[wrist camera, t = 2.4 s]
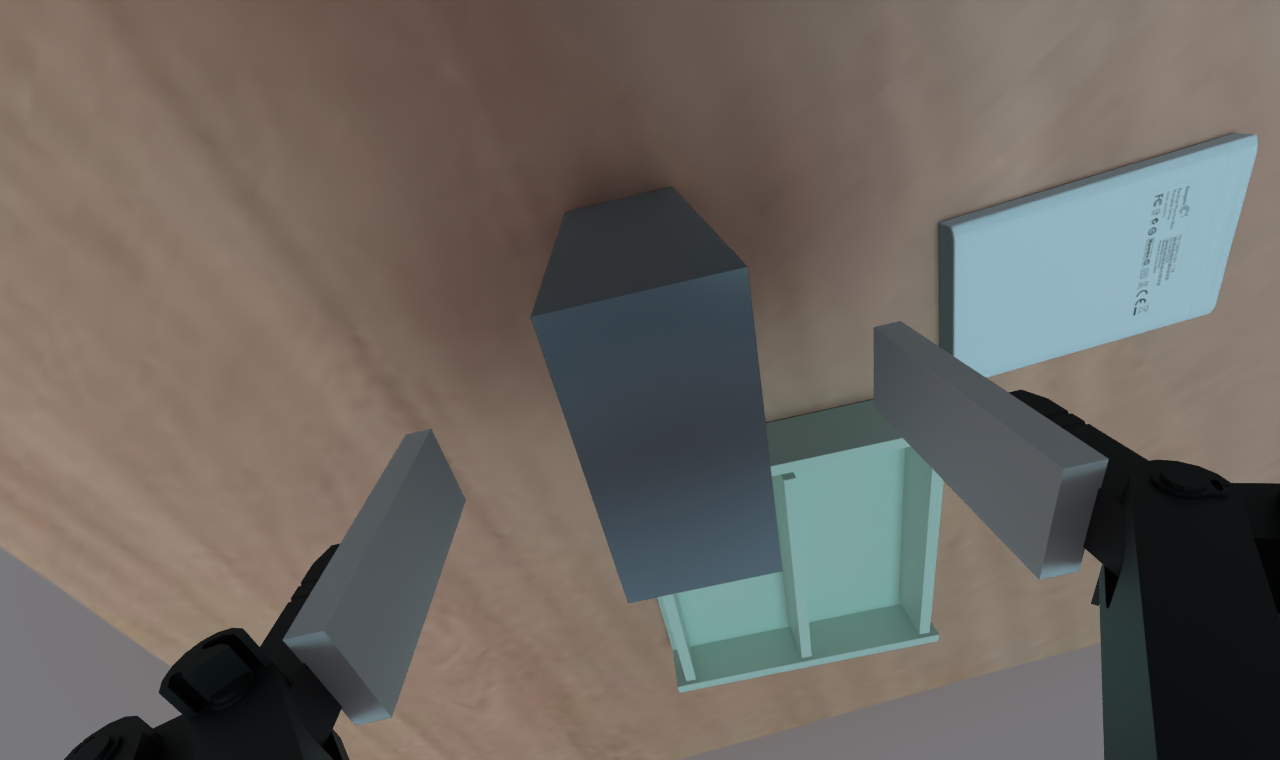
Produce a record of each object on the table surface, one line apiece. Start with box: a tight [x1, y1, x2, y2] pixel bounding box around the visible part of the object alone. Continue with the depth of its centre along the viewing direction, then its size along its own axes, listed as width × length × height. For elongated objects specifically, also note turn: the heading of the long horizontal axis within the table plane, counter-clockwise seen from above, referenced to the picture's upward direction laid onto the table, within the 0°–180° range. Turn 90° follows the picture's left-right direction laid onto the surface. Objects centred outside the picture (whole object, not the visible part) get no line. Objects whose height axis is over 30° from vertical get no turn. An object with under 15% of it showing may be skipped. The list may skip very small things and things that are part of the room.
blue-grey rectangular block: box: [531, 187, 783, 603], centre depth 18 cm, size 9×4×12 cm, turn 12°
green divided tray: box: [657, 399, 944, 692], centre depth 29 cm, size 16×16×3 cm
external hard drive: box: [938, 133, 1258, 377], centre depth 23 cm, size 2×8×12 cm
